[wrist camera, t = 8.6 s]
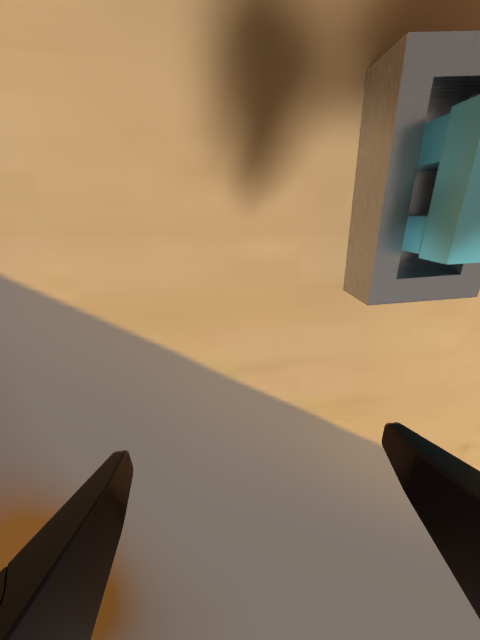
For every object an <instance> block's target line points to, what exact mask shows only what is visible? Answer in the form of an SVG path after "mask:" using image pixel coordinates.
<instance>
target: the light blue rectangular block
mask: <svg viewBox="0 0 480 640" xmlns="http://www.w3.org/2000/svg"><path fill="white" fill-rule="evenodd" d="M424 169H438V171H437V176H436V181H435V185H434V190H433V194H432V199H431V203H430V208H429V212H428V213H427V214H408V218H407V224H406V229H405V235H404V240H403V245H402V250H404V251H408V252H413V253H417V254H419V258H421V259H425V260H429V261H434V262H438V263H442V264H446V265H448V264H464V263H480V94H479V95H477V96H475V97H472V98H470V99H468V100H466V101H463V102H461V103H459V104H457V105H454V106H452V108H451V112H450V113H449V114H446V115H444V116H441V117H439V118H437V119H434V120H432V121H429V122H427V123H425V127H424V132H423V137H422V143H421V148H420V154H419V159H418V164H417V170H424Z"/></svg>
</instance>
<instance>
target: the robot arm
mask: <svg viewBox="0 0 480 640" xmlns="http://www.w3.org/2000/svg"><path fill="white" fill-rule="evenodd" d="M382 445H383V448H384V450H385V452H386V454H387V456H388V458H389V460H390V462H391V465H392V467H393V469H394V471H395V473H396V475H397V477H398V479H399V482H400V484H401V486H402V488H403V490H404V492H405V493H406V495H407V497H408V499H409V500H410V502H411V504H412V506H413V507H414V509H415V511H416V512H417V514H418V516H419V517H420V519H421V521H422V522H423V524H424V526H425V527H426V529H427V531H428V533H429V534H430V536H431V538H432V539H433V541H434V543H435V544H436V546H437V548H438V549H439V551H440V553H441V555H442V556H443V558H444V560H445V561H446V563H447V565H448V566H449V568H450V570H451V571H452V573H453V575H454V577H455V578H456V580H457V582H458V583H459V585H460V587H461V588H462V590H463V592H464V593H465V595H466V597H467V599H468V600H469V602H470V603H471V605H472V607H473V609H474V610H475V612H476V614H477V615H478V617H479V619H480V471H478V470H477V469H475V468H473V467H472V466H470V465H468V464H467V463H465V462H463V461H462V460H460V459H458V458H457V457H455V456H453V455H452V454H450V453H448V452H447V451H445V450H444V449H442V448H440V447H439V446H437V445H435V444H434V443H432V442H430V441H429V440H427V439H425V438H424V437H422V436H420V435H419V434H417V433H415V432H414V431H412V430H410V429H409V428H407V427H405V426H404V425H402V424H400V423H397V422H394V423H387V424H386V425H385V427H384V432H383V437H382ZM132 477H133V465H132V462H131V458H130V455H129V452H128V451H127V450H123V451H116V452H114V453H113V454H112V455H111V456H110V457H109V458H108V459H107V460H106V461H105V462H104V463H103V464H102V465H101V466H100V467H99V468H98V469H97V470H96V472H95V473H94V474H93V475H92V476H91V477H90V478H89V479H88V480H87V481H86V482H85V483H84V484H83V485H82V486H81V487H80V488H79V489H78V490H77V491H76V493H75V494H74V495H73V496H72V497H71V498H70V499H69V500H68V501H67V502H66V503H65V504H64V505H63V506H62V508H60V510H58V512H57V513H56V514H55V515H54V516H53V517H52V518H51V519H50V520H49V521H48V522H47V523H46V524H45V525H44V526H43V527H42V528H41V529H40V530H39V532H38V533H37V534H36V535H35V536H34V537H33V538H32V539H31V540H30V541H29V542H28V543H27V544H26V545H25V546H24V547H23V548H22V549H21V551H19V552H18V554H17V555H16V556H15V557H14V558H13V559H12V560H11V561H10V562H9V563H8V566H7V567H4V568H3V569H2V570H1V571H0V640H91V636H92V633H93V629H94V626H95V622H96V619H97V616H98V612H99V609H100V605H101V602H102V598H103V595H104V591H105V588H106V585H107V581H108V578H109V574H110V571H111V567H112V563H113V560H114V557H115V553H116V550H117V546H118V543H119V539H120V536H121V532H122V528H123V524H124V519H125V515H126V509H127V504H128V499H129V493H130V488H131V483H132Z"/></svg>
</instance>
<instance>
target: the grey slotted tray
mask: <svg viewBox="0 0 480 640" xmlns="http://www.w3.org/2000/svg"><path fill="white" fill-rule="evenodd" d="M479 94H480V31H432V32H407V33H406V34H405V35H404V36H403V37H402V38H401V39H400V40H399V41H398V42H397V43H396V44H395V45H394V46H392V47H391V48H390V49H389V50H388V51H387V52H386V53H385V54H384V55H383V56H382V57H381V58H380V59H379V60H377V61H376V62H375V63H374V64H373V65H372V66H371V67H370V68H369V69H368V70H367V75H366V84H365V93H364V103H363V112H362V121H361V131H360V140H359V149H358V159H357V168H356V178H355V187H354V196H353V206H352V215H351V224H350V234H349V243H348V252H347V262H346V271H345V281H344V291H346V292H347V293H349V294H350V295H352V296H354V297H355V298H357V299H358V300H360V301H361V302H363V303H365V304H366V305H379V304H392V303H405V302H418V301H431V300H444V299H457V298H470V297H477V295H478V292H479V289H480V263H464V264H448V265H446V264H442V263H438V262H434V261H429V260H425V259H421V258H419V254H417V253H413V252H408V251H404V250H402V245H403V240H404V235H405V229H406V224H407V218H408V214H427V213H428V212H429V208H430V203H431V199H432V194H433V190H434V185H435V181H436V176H437V171H438V169H424V170H417V164H418V159H419V154H420V148H421V143H422V137H423V132H424V127H425V123H427V122H429V121H432V120H434V119H437V118H439V117H441V116H444V115H446V114H449V113H450V112H451V108H452V106H454V105H457V104H459V103H461V102H463V101H466V100H468V99H470V98H472V97H475V96H477V95H479Z"/></svg>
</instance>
